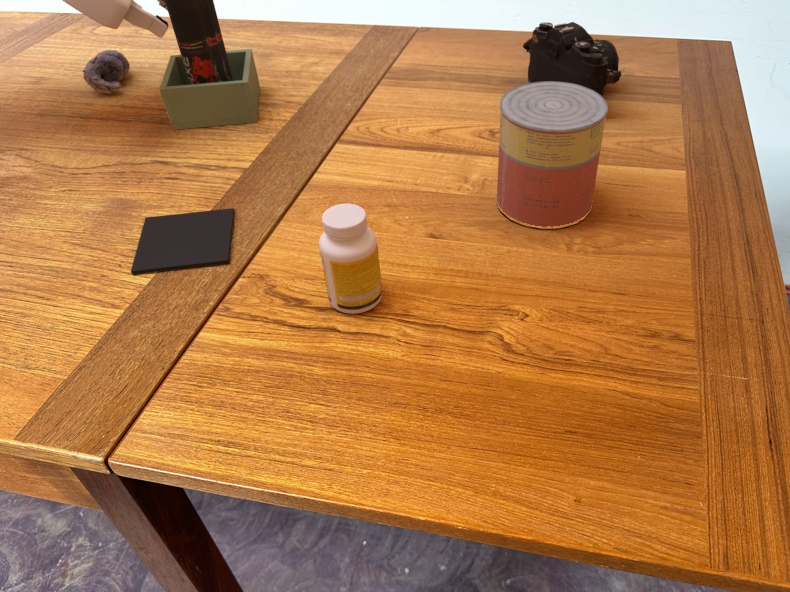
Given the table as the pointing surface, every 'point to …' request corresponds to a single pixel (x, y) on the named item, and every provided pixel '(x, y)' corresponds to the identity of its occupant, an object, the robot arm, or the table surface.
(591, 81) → the film camera
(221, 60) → the deodorant
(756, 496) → the table surface
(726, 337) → the table surface
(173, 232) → the pad
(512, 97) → the canned food
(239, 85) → the bin
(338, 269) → the supplement bottle
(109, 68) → the grey crumpled cloth
